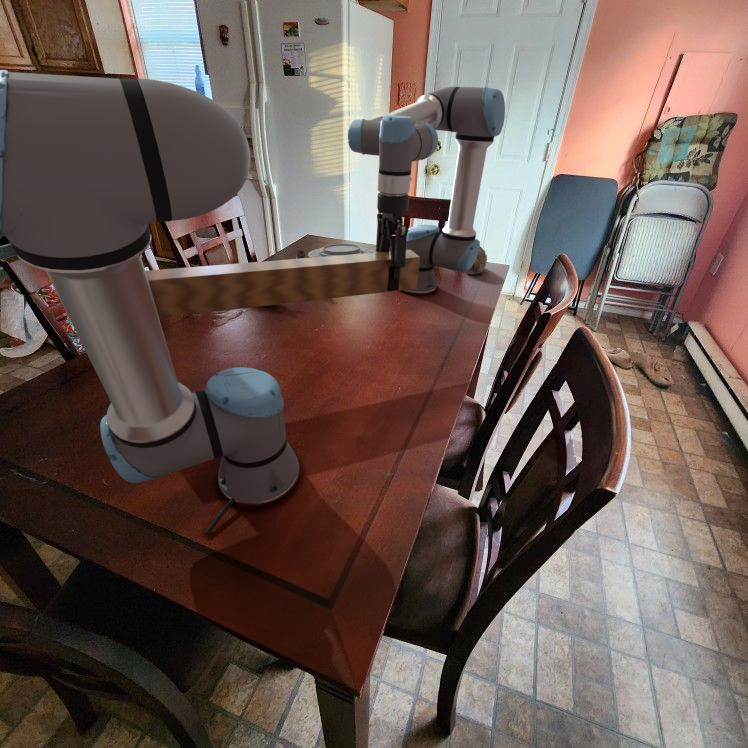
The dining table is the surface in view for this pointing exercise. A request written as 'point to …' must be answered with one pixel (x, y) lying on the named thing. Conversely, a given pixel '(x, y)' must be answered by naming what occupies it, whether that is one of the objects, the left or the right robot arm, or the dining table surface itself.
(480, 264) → the lumpy boulder
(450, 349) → the dining table surface
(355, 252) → the brake disc
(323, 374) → the dining table surface
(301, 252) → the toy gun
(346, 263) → the post
